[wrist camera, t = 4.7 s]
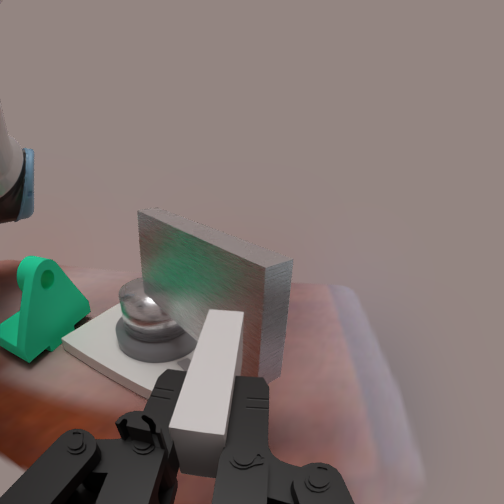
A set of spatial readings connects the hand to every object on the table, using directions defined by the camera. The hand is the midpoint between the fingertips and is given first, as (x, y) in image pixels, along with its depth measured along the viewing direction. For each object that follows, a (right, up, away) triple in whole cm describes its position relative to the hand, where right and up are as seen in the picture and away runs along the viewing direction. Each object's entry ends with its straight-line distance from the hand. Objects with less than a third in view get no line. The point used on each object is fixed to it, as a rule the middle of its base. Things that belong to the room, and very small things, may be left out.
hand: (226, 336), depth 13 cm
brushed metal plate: (-4, -5, +12) cm, 14 cm away
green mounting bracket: (-24, -7, +17) cm, 31 cm away
